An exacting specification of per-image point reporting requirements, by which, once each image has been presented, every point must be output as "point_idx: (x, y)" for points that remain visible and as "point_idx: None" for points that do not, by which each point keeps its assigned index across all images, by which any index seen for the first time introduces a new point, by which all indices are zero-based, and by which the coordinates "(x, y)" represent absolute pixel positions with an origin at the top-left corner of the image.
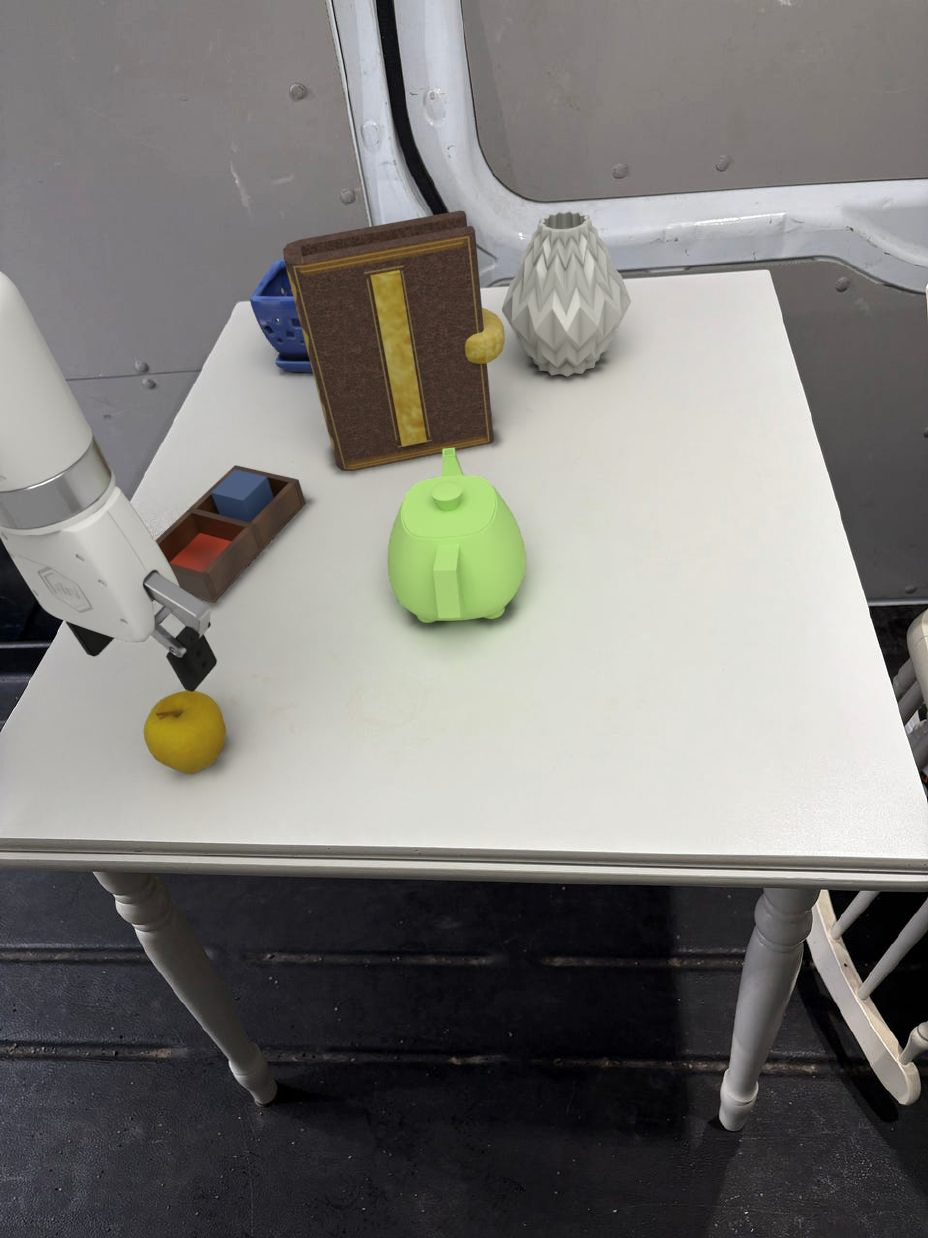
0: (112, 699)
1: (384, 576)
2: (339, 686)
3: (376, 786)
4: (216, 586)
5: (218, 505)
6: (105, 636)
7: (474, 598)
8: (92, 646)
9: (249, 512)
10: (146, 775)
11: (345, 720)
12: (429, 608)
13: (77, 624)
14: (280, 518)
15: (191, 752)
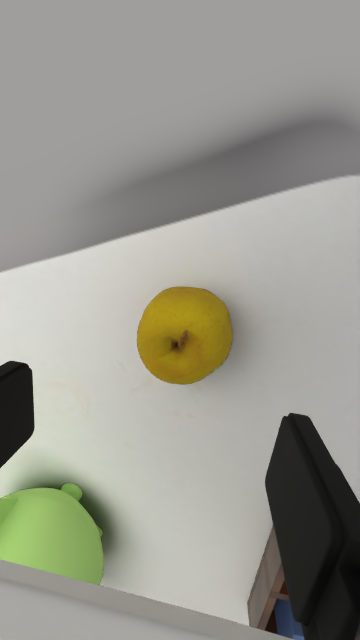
0: (340, 367)
1: (129, 525)
2: (105, 415)
3: (20, 325)
4: None
5: None
6: (278, 468)
7: None
8: (291, 439)
9: (287, 608)
10: (242, 284)
11: (81, 382)
12: (27, 504)
13: (139, 635)
14: (257, 592)
15: (149, 303)
